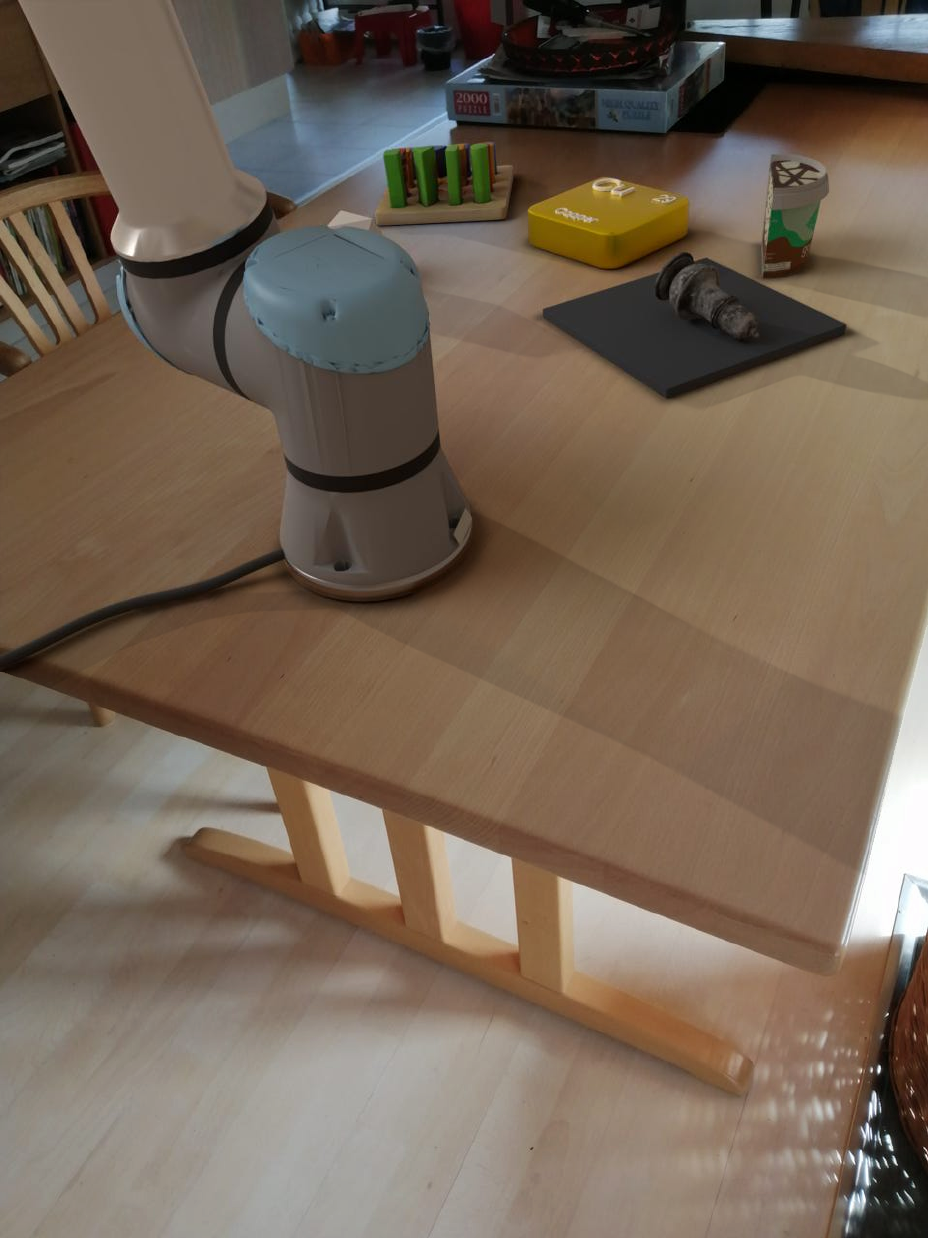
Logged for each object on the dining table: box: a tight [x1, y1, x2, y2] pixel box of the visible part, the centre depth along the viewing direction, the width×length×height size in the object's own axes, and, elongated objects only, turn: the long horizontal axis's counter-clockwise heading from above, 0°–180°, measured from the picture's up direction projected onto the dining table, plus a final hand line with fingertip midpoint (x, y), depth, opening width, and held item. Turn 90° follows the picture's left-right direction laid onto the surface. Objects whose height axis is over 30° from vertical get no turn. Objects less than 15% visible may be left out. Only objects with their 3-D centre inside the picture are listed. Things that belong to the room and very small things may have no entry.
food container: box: [760, 153, 830, 279], centre depth 111 cm, size 12×6×10 cm, turn 168°
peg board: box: [374, 141, 515, 226], centre depth 136 cm, size 18×17×9 cm
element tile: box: [527, 176, 690, 270], centre depth 122 cm, size 15×15×5 cm
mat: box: [542, 257, 847, 399], centre depth 104 cm, size 22×22×1 cm
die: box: [327, 209, 383, 235], centre depth 117 cm, size 8×9×10 cm
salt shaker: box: [654, 251, 759, 341], centre depth 100 cm, size 6×6×12 cm
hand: (568, 10), depth 90 cm, fingers open, 13 cm apart
